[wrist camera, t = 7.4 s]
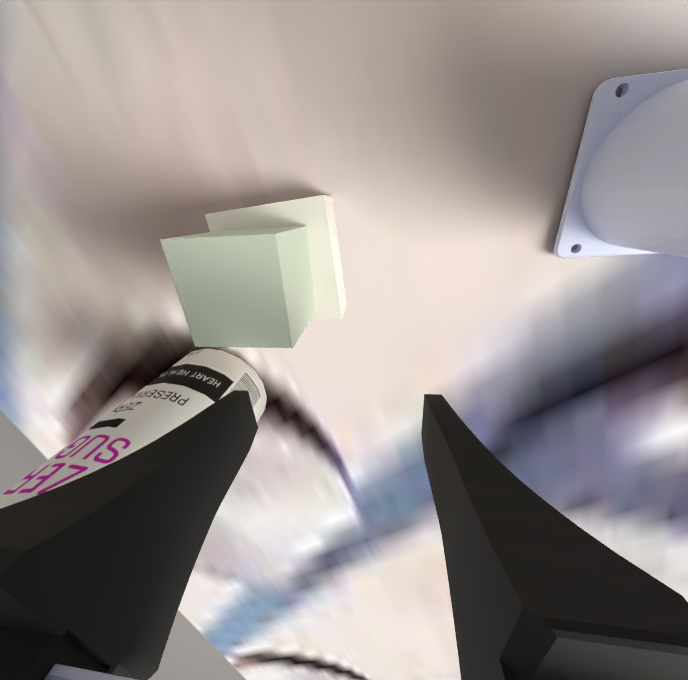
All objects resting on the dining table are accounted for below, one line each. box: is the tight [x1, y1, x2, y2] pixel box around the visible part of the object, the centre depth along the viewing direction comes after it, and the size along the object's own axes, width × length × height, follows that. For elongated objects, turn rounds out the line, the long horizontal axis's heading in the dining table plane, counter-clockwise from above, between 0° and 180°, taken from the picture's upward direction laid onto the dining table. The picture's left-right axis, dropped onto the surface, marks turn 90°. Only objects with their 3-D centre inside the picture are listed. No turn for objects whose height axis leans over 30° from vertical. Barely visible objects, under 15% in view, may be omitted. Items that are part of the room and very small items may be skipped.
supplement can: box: [0, 349, 267, 509], centre depth 17 cm, size 8×8×15 cm
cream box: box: [204, 195, 347, 321], centre depth 18 cm, size 7×7×3 cm
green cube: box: [160, 226, 316, 348], centre depth 14 cm, size 5×5×5 cm
